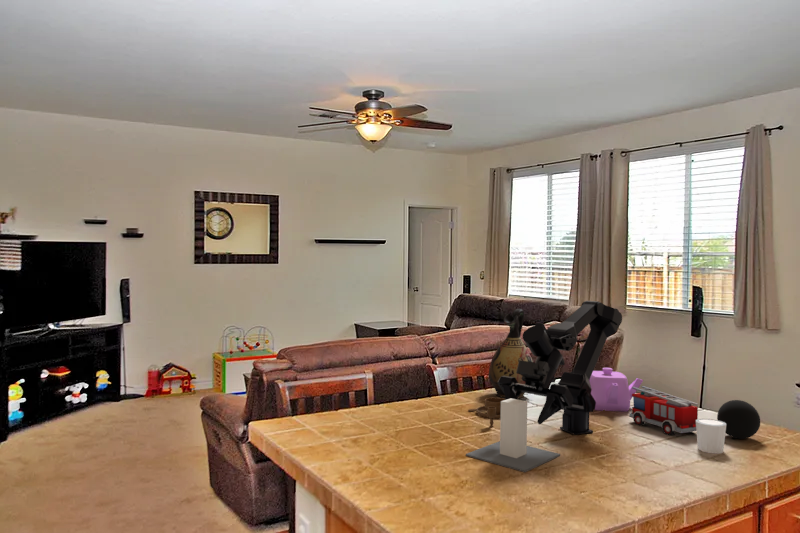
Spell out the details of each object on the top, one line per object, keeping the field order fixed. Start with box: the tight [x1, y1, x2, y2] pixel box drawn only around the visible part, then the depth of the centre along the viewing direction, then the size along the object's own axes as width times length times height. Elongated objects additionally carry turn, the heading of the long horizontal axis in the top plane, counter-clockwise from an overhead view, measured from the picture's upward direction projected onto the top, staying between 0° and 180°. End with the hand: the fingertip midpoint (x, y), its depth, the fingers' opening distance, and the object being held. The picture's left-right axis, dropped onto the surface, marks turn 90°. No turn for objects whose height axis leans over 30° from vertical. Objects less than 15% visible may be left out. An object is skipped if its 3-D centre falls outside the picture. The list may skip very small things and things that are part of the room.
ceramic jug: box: [488, 308, 534, 399], centre depth 208 cm, size 17×15×30 cm
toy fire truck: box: [628, 385, 699, 436], centre depth 168 cm, size 9×19×10 cm, turn 24°
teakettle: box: [589, 367, 644, 412], centre depth 194 cm, size 17×17×12 cm
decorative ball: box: [716, 399, 761, 440], centre depth 160 cm, size 10×10×10 cm
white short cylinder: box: [695, 418, 726, 454], centre depth 149 cm, size 7×7×7 cm
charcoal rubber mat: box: [465, 440, 561, 473], centre depth 143 cm, size 16×16×1 cm
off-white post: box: [499, 398, 528, 458], centre depth 142 cm, size 4×4×12 cm
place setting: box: [467, 396, 505, 428], centre depth 179 cm, size 18×20×6 cm
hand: (521, 419), depth 145 cm, fingers open, 9 cm apart
